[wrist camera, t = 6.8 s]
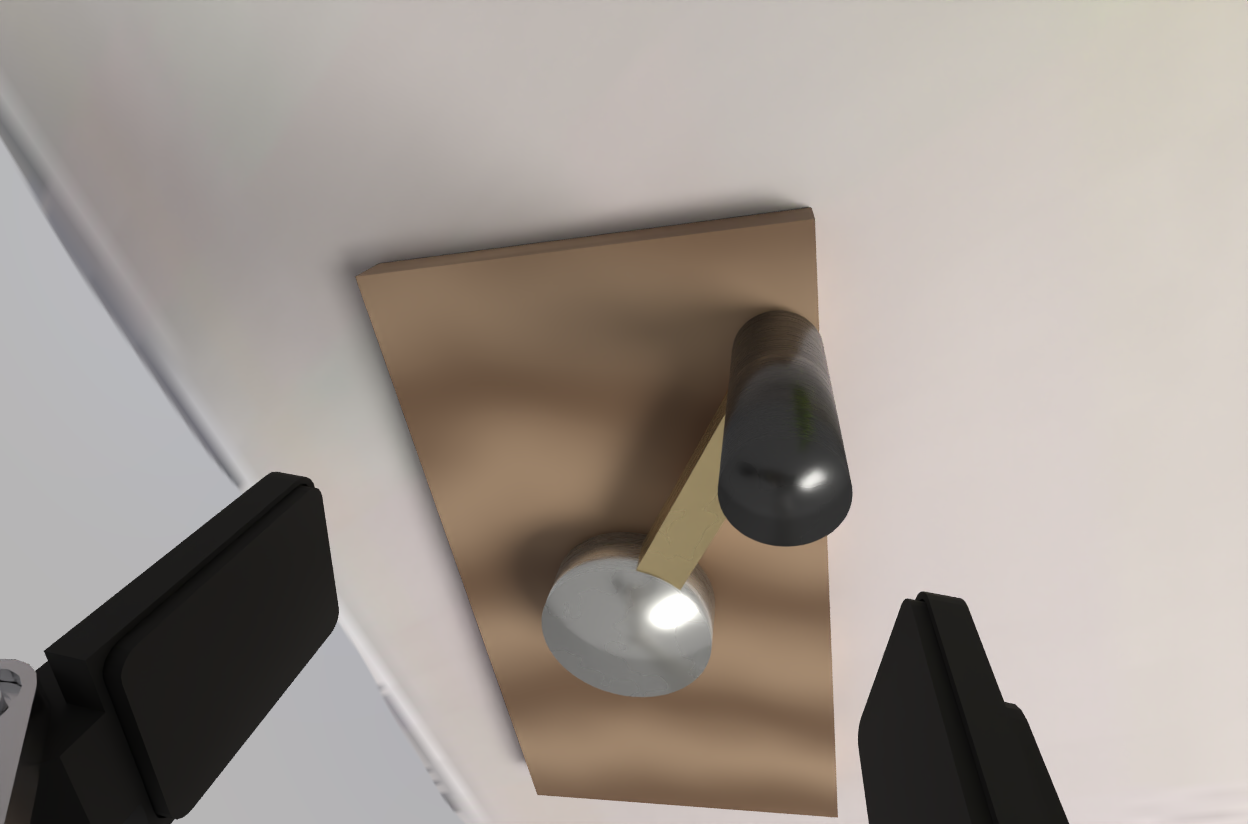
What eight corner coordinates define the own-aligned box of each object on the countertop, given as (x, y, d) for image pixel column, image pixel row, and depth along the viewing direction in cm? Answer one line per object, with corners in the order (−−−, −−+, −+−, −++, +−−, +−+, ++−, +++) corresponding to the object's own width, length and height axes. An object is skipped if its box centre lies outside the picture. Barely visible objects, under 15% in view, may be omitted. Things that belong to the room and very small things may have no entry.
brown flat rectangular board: (834, 784, 31) (838, 822, 29) (546, 766, 34) (536, 799, 32) (811, 207, 19) (815, 220, 18) (378, 263, 22) (351, 278, 21)
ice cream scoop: (674, 675, 27) (647, 866, 20) (536, 615, 26) (466, 789, 20) (894, 358, 19) (959, 509, 13) (702, 270, 19) (672, 379, 13)
